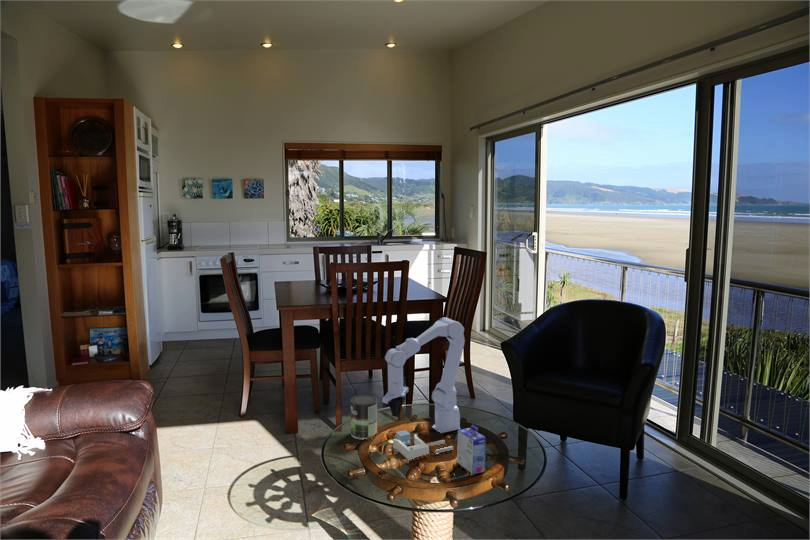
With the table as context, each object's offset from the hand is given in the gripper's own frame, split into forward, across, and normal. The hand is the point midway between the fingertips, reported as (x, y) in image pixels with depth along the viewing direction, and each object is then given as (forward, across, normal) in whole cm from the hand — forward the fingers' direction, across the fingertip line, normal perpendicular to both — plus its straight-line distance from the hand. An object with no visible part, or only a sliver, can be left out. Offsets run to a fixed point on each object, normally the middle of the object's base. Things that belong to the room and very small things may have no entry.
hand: (396, 415), depth 217 cm
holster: (+9, +1, -19) cm, 21 cm away
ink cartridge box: (+10, -5, -34) cm, 36 cm away
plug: (+10, -3, -5) cm, 11 cm away
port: (+9, -6, -11) cm, 16 cm away
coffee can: (+10, -3, +13) cm, 17 cm away
